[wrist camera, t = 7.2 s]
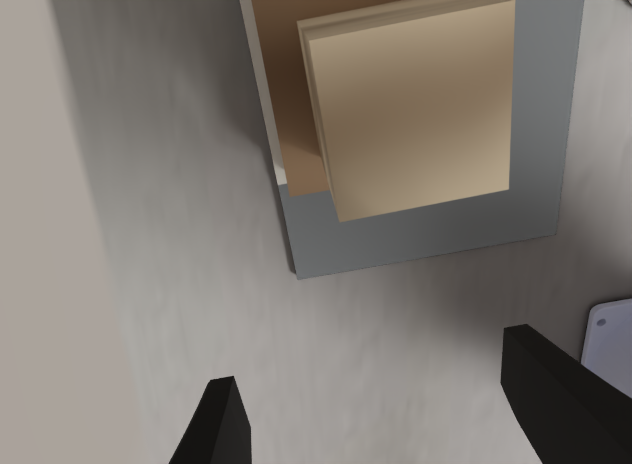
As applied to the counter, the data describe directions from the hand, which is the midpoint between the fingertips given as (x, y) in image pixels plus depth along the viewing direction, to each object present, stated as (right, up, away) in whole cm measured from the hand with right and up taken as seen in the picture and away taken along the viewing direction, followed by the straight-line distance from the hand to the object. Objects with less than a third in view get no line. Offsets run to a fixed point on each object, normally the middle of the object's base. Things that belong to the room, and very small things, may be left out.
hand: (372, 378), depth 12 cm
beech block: (0, +9, +3) cm, 9 cm away
